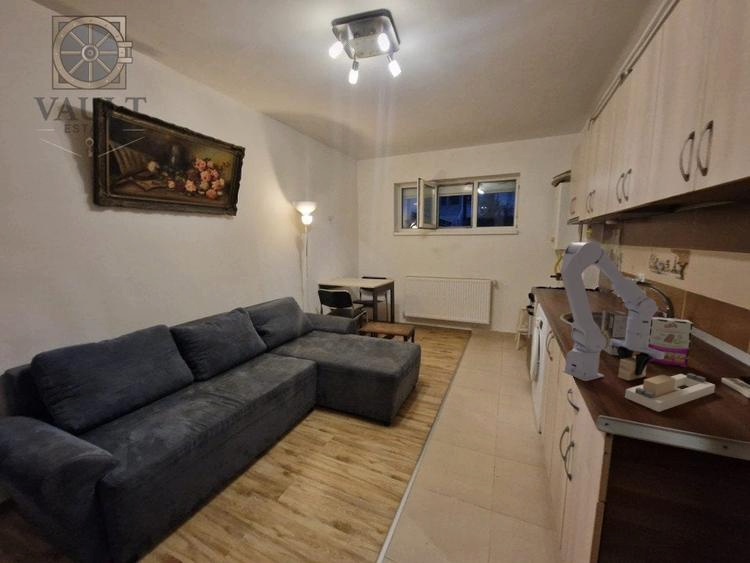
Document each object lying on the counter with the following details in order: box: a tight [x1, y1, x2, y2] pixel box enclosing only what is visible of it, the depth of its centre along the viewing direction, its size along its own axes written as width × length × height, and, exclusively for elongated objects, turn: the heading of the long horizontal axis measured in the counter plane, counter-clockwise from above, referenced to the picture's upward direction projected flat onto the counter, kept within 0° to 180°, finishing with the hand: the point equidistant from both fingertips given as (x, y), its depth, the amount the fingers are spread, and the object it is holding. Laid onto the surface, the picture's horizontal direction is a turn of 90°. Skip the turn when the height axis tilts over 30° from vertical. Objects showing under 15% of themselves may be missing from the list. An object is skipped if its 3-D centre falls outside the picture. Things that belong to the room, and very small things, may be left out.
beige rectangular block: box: [617, 355, 648, 381], centre depth 103 cm, size 9×3×6 cm, turn 112°
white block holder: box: [624, 372, 716, 413], centre depth 91 cm, size 28×8×6 cm, turn 112°
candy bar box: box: [647, 316, 694, 368], centre depth 114 cm, size 11×5×16 cm, turn 58°
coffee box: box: [600, 309, 628, 356], centre depth 125 cm, size 9×6×16 cm
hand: (632, 372), depth 103 cm, fingers closed on beige rectangular block, 3 cm apart
